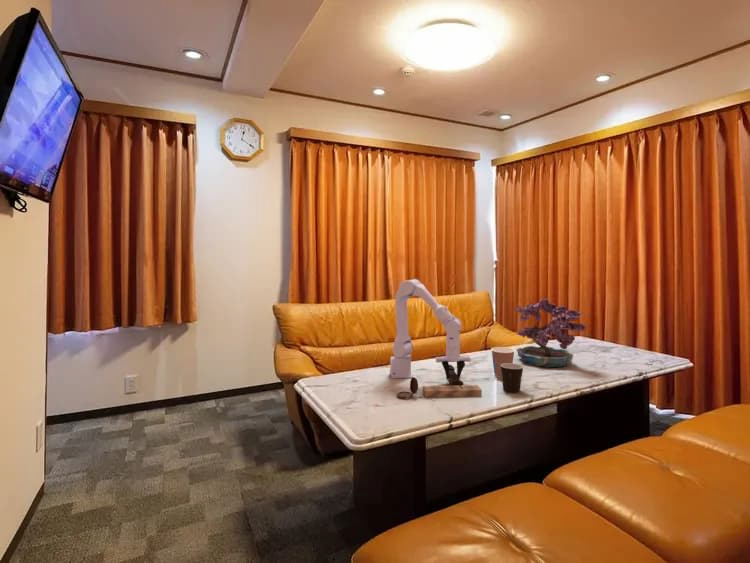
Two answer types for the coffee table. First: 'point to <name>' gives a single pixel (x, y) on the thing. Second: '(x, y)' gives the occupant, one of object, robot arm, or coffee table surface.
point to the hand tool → (454, 377)
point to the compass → (412, 387)
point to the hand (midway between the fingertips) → (452, 378)
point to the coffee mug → (511, 377)
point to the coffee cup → (501, 358)
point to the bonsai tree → (548, 334)
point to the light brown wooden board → (452, 391)
